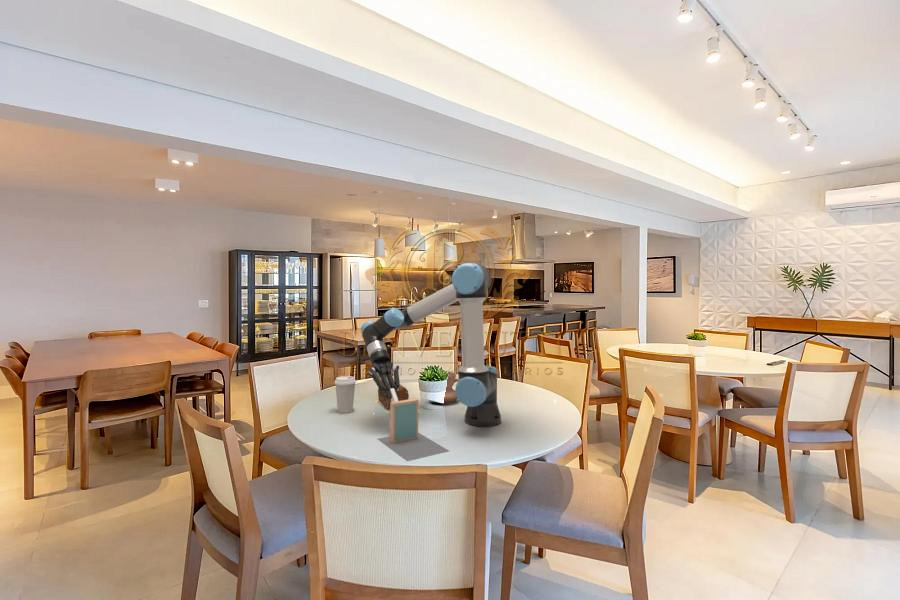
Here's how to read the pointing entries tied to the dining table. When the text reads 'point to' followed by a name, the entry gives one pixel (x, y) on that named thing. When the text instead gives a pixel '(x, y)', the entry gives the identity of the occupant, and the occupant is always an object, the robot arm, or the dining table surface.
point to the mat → (414, 447)
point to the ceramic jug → (450, 388)
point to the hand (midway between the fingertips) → (396, 405)
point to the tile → (403, 420)
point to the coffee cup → (345, 393)
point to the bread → (386, 402)
